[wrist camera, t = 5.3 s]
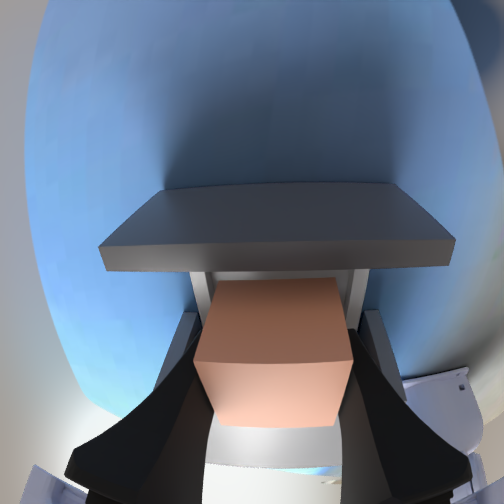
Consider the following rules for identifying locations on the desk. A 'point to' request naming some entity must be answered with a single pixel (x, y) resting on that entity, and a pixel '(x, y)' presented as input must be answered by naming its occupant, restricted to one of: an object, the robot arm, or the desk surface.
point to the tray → (279, 236)
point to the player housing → (283, 439)
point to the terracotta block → (275, 353)
